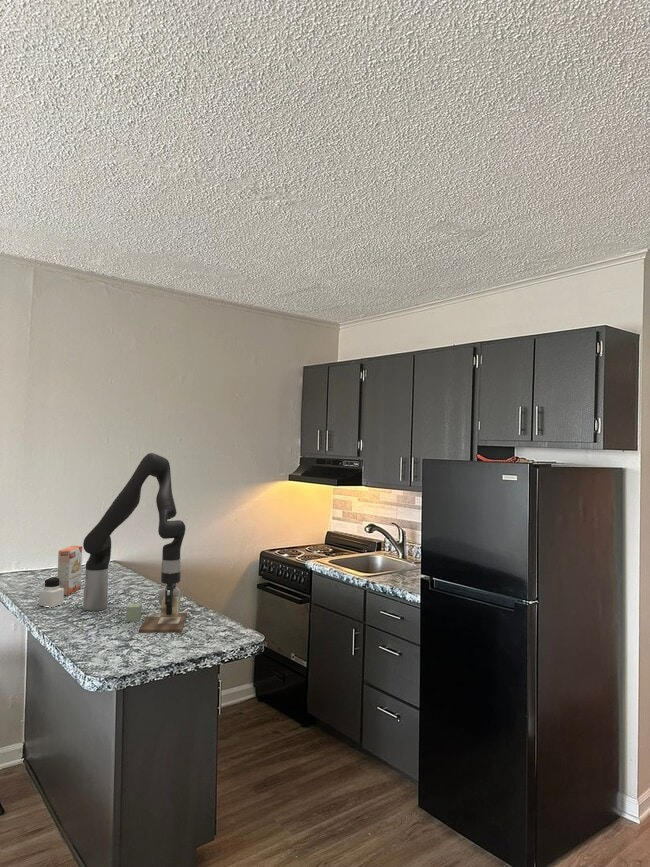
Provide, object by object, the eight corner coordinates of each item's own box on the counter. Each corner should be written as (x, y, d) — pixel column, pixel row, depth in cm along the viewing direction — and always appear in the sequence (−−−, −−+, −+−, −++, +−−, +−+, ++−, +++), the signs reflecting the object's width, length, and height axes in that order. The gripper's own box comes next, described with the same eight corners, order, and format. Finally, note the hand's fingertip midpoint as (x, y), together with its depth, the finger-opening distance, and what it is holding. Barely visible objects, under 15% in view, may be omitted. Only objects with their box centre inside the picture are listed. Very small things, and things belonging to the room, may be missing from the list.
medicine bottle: (63, 604, 270) (64, 577, 270) (51, 608, 263) (52, 580, 264) (50, 602, 273) (51, 575, 273) (38, 606, 266) (39, 578, 266)
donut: (158, 610, 265) (159, 587, 265) (156, 608, 268) (157, 585, 268) (181, 607, 270) (182, 584, 270) (179, 605, 273) (180, 583, 273)
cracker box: (69, 596, 284) (70, 550, 284) (56, 595, 284) (57, 550, 284) (81, 588, 298) (82, 545, 298) (69, 588, 298) (70, 545, 298)
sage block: (126, 621, 248) (126, 606, 248) (128, 618, 253) (129, 603, 253) (138, 621, 249) (139, 606, 249) (141, 618, 254) (141, 603, 254)
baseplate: (138, 632, 234) (138, 629, 235) (148, 615, 256) (148, 612, 256) (181, 632, 236) (181, 628, 236) (187, 615, 258) (187, 612, 258)
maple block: (161, 616, 243) (161, 600, 244) (163, 611, 249) (163, 596, 249) (176, 615, 244) (177, 600, 244) (178, 611, 250) (178, 596, 250)
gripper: (163, 566, 254) (163, 607, 253) (158, 574, 239) (157, 617, 239) (182, 566, 254) (181, 607, 254) (178, 574, 240) (177, 617, 240)
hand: (170, 612), depth 247 cm, fingers closed on maple block, 6 cm apart
